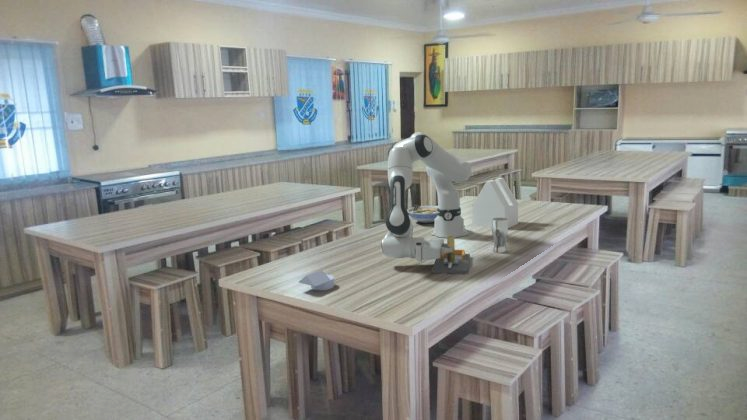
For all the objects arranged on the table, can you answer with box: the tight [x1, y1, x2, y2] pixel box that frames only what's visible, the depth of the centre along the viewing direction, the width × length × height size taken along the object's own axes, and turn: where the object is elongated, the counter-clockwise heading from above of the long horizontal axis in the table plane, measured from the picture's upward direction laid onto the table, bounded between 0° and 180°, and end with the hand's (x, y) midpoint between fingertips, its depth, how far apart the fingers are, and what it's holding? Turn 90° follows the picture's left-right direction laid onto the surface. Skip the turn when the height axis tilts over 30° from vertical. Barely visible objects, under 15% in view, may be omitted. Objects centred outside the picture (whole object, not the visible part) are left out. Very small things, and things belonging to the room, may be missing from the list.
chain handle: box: [443, 236, 459, 269], centre depth 223 cm, size 12×6×11 cm, turn 168°
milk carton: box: [471, 177, 519, 229], centre depth 297 cm, size 19×15×25 cm
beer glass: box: [491, 217, 509, 254], centre depth 245 cm, size 7×7×15 cm
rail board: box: [431, 249, 471, 275], centre depth 230 cm, size 24×14×4 cm, turn 168°
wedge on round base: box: [298, 269, 335, 291], centre depth 208 cm, size 9×7×13 cm
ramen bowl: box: [406, 203, 438, 224], centre depth 312 cm, size 25×23×8 cm
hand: (453, 248), depth 226 cm, fingers closed on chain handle, 3 cm apart
